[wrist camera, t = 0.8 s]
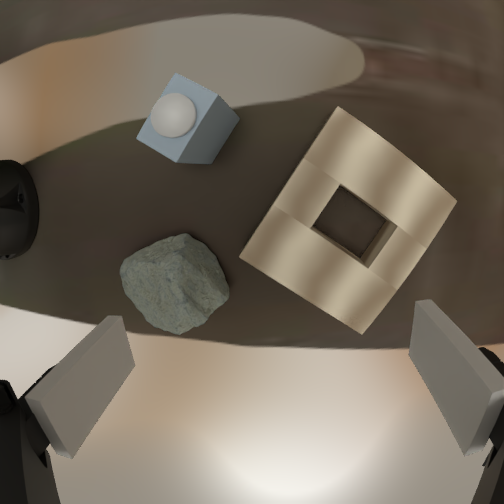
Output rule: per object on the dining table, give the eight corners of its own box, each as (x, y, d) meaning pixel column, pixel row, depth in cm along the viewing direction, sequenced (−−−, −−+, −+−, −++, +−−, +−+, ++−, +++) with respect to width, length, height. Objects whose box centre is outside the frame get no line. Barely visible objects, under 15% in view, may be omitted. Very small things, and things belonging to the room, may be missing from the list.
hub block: (243, 247, 37) (238, 257, 33) (332, 113, 32) (337, 106, 28) (355, 319, 38) (362, 334, 34) (441, 197, 33) (456, 201, 29)
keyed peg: (182, 146, 35) (131, 137, 22) (210, 101, 33) (172, 69, 21) (211, 164, 35) (172, 162, 23) (240, 118, 33) (216, 92, 21)
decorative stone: (244, 232, 36) (173, 218, 29) (247, 330, 35) (174, 341, 27) (172, 245, 44) (108, 238, 37) (173, 324, 43) (109, 328, 35)
